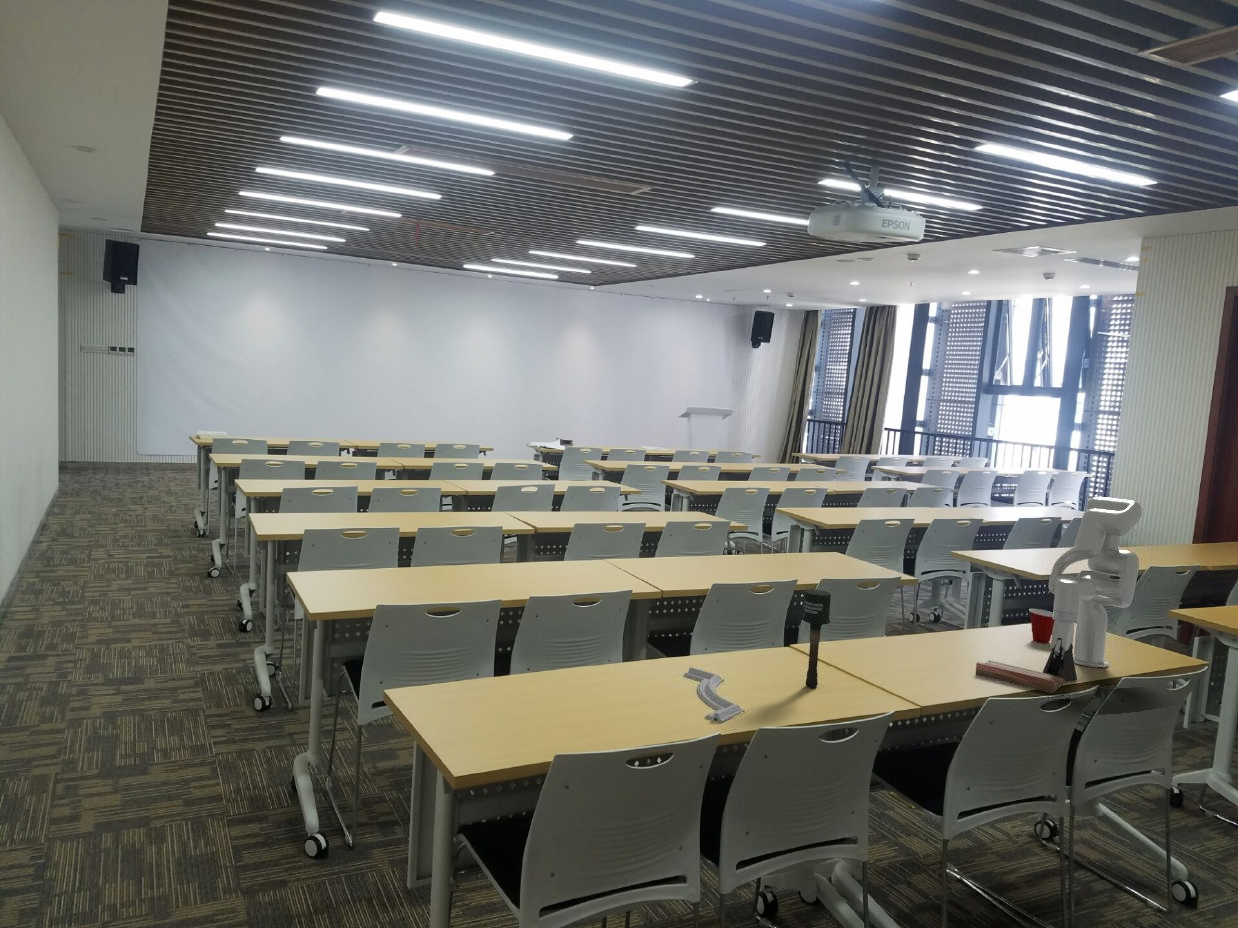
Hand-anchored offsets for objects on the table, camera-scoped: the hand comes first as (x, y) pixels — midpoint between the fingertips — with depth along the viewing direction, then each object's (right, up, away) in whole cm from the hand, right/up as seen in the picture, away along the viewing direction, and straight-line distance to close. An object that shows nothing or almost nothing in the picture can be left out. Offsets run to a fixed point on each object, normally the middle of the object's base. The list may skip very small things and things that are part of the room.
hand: (1060, 667), depth 293 cm
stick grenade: (-90, -1, -23) cm, 93 cm away
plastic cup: (+15, 0, +45) cm, 47 cm away
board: (-16, -3, -5) cm, 17 cm away
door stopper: (0, -3, 0) cm, 3 cm away
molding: (-124, 0, -36) cm, 129 cm away
